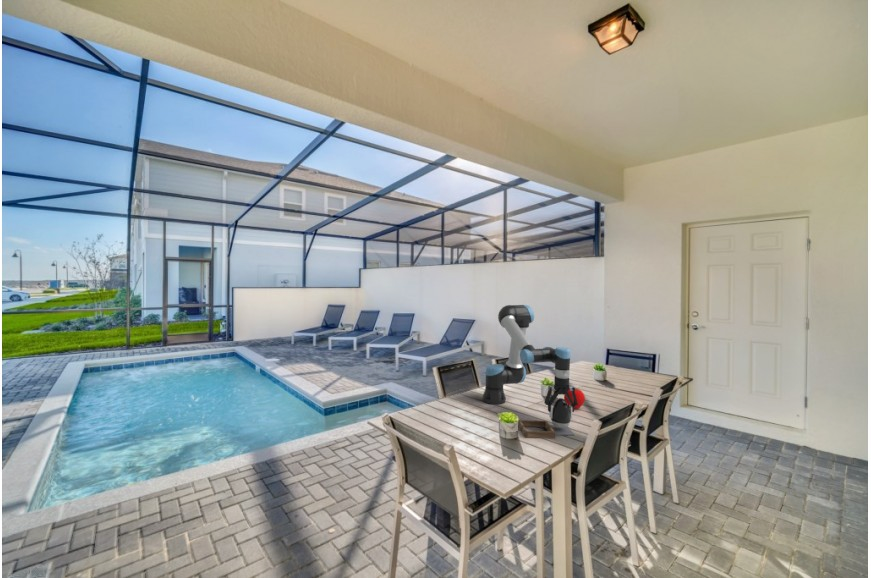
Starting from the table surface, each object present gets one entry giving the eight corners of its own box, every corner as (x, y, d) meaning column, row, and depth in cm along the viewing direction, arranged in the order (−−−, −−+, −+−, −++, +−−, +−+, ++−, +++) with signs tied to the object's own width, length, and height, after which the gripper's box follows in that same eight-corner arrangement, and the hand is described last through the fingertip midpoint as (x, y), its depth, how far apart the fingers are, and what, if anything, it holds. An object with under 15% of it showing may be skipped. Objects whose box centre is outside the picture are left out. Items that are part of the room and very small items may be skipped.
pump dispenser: (557, 431, 197) (558, 402, 196) (546, 423, 207) (547, 396, 206) (574, 429, 199) (575, 401, 199) (563, 421, 209) (563, 394, 209)
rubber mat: (546, 425, 209) (546, 424, 209) (566, 426, 209) (566, 425, 209) (553, 435, 197) (553, 434, 197) (574, 435, 197) (574, 434, 197)
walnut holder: (518, 425, 209) (518, 420, 209) (546, 425, 209) (546, 420, 209) (525, 437, 193) (525, 432, 193) (555, 438, 193) (555, 432, 193)
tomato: (563, 409, 235) (564, 389, 234) (563, 403, 246) (564, 384, 245) (585, 412, 231) (585, 391, 230) (584, 405, 242) (584, 386, 241)
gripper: (542, 378, 198) (541, 420, 199) (585, 379, 198) (584, 420, 199) (539, 374, 206) (537, 414, 207) (580, 375, 206) (578, 415, 207)
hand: (560, 417), depth 203 cm, fingers closed on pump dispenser, 10 cm apart
